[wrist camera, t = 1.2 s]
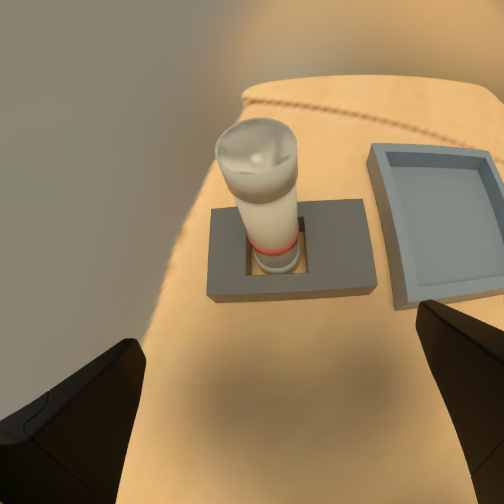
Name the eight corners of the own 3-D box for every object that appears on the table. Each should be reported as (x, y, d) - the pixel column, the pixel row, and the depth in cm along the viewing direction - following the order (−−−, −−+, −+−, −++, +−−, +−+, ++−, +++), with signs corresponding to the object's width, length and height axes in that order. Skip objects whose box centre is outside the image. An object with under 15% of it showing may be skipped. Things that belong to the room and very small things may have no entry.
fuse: (300, 276, 22) (300, 173, 11) (257, 279, 23) (212, 180, 11) (298, 236, 24) (292, 114, 12) (256, 239, 24) (217, 122, 12)
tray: (516, 291, 18) (534, 281, 16) (395, 310, 20) (408, 302, 17) (477, 167, 24) (488, 151, 21) (366, 163, 26) (371, 143, 23)
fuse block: (369, 294, 21) (377, 285, 19) (215, 302, 23) (206, 295, 20) (357, 214, 24) (362, 198, 21) (219, 223, 25) (211, 209, 23)
